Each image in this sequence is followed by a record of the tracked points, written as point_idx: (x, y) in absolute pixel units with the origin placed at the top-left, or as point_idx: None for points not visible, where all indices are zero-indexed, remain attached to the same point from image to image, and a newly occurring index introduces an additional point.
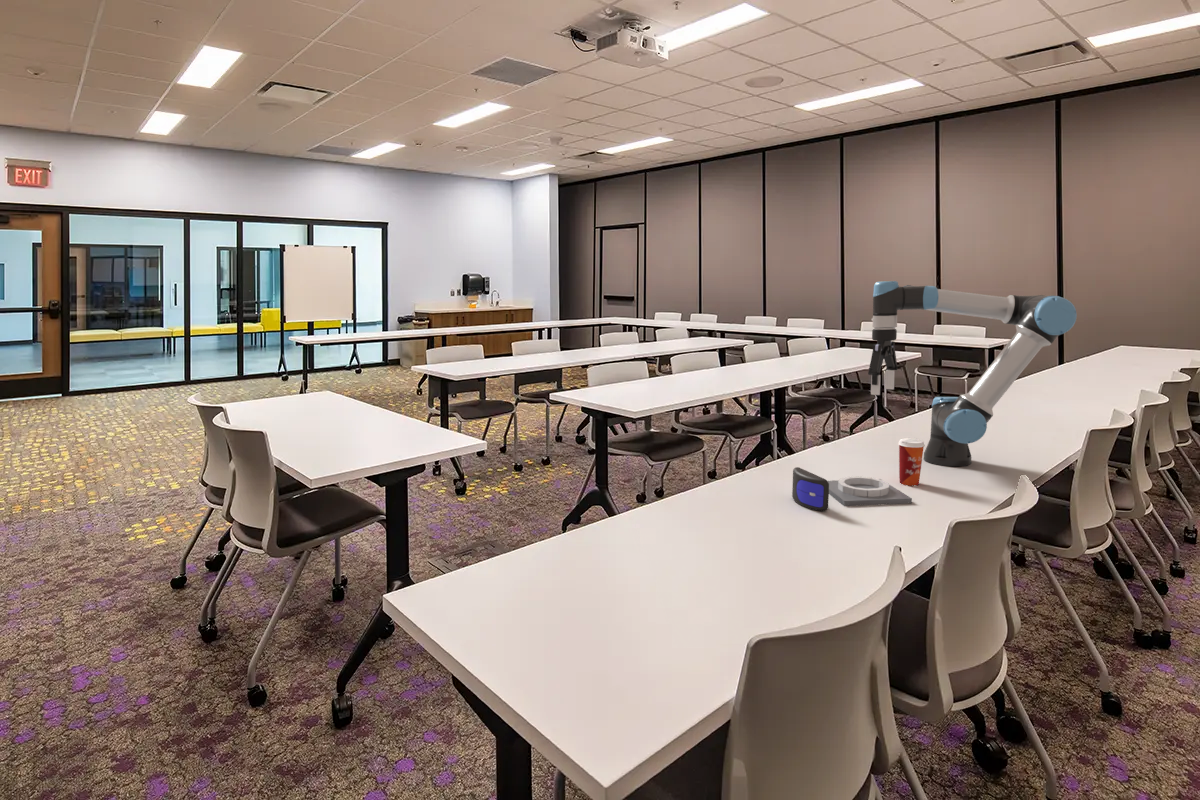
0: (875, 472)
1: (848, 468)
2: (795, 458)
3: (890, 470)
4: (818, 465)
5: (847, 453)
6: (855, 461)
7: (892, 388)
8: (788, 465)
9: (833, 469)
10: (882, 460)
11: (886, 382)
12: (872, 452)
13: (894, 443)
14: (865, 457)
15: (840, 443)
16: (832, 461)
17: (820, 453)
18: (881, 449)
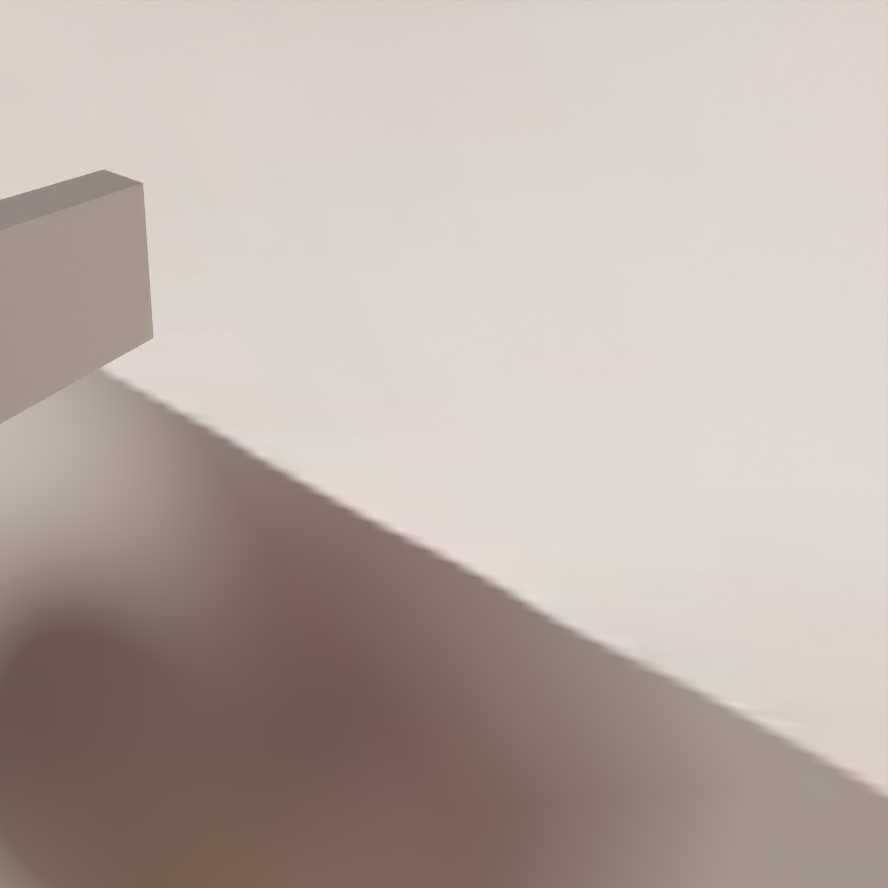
0: (859, 137)
1: (777, 342)
2: (612, 622)
3: (753, 17)
4: (746, 520)
5: (376, 353)
6: (556, 301)
7: (130, 205)
8: (797, 671)
9: (836, 437)
10: (456, 118)
11: (44, 374)
12: (281, 204)
13: (10, 84)
14: (424, 241)
15: (185, 391)
16: (610, 439)
17: (444, 496)
18: (183, 153)
